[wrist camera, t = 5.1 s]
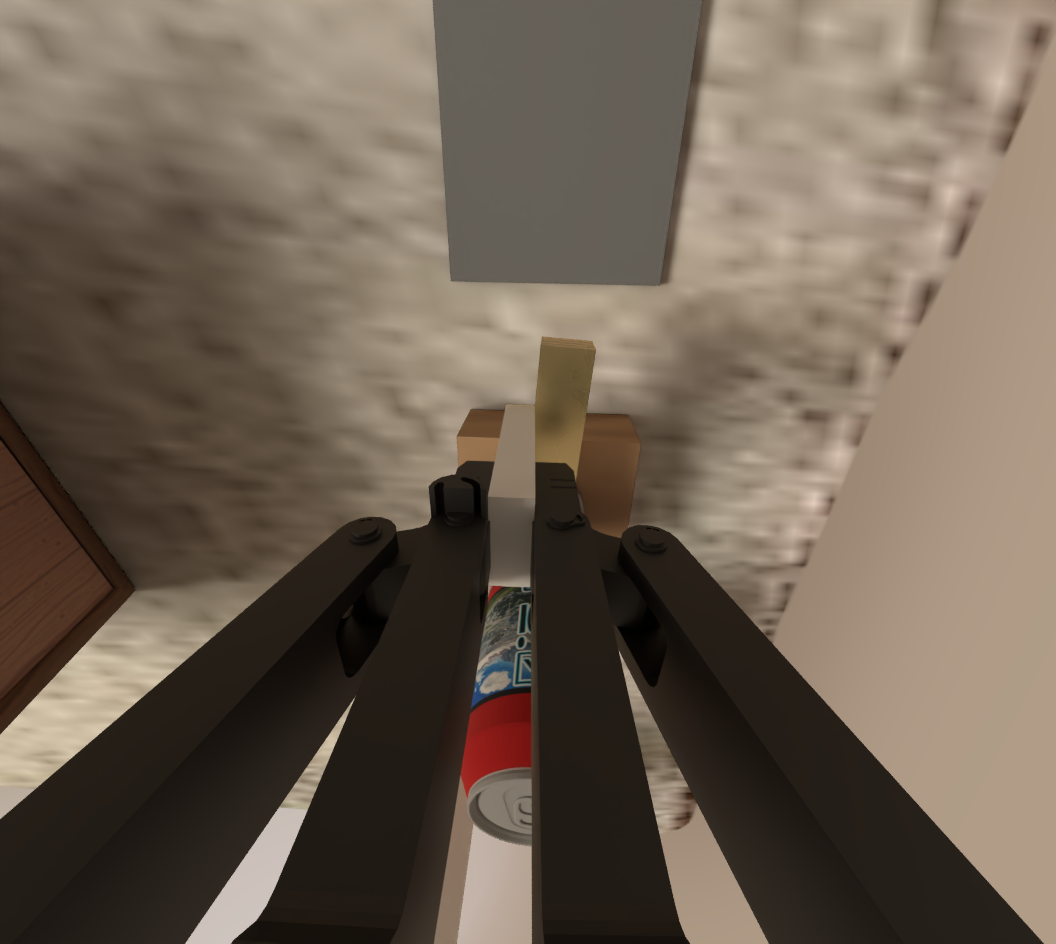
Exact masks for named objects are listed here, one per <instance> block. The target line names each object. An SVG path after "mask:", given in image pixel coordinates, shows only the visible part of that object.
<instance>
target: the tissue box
mask: <svg viewBox="0 0 1056 944" xmlns="http://www.w3.org/2000/svg"><path fill="white" fill-rule="evenodd" d="M134 591H135V589H134V587H133V586H132V584H131V583H130V581H129V580H128V578H127V577H126V576H125V574H124V573H123V571H122V570H121V569H120V567H119V566H118V565H117V563H116V562H115V560H114V559H113V558H112V556H111V555H110V553H109V552H108V551H107V549H106V548H105V547H104V545H103V544H102V542H101V541H100V540H99V538H98V537H97V536H96V534H95V533H94V531H93V530H92V529H91V527H90V526H89V524H88V523H87V522H86V520H85V519H84V518H83V516H82V515H81V513H80V512H79V511H78V509H77V508H76V507H75V505H74V504H73V502H72V501H71V500H70V498H69V497H68V495H67V494H66V493H65V491H64V490H63V489H62V487H61V486H60V484H59V483H58V482H57V480H56V479H55V478H54V476H53V475H52V473H51V472H50V471H49V469H48V468H47V466H46V465H45V464H44V462H43V461H42V460H41V458H40V457H39V455H38V454H37V453H36V451H35V450H34V449H33V447H32V446H31V444H30V443H29V442H28V440H27V439H26V437H25V436H24V435H23V433H22V432H21V431H20V429H19V428H18V426H17V425H16V424H15V422H14V421H13V420H12V418H11V417H10V415H9V414H8V413H7V411H6V410H5V408H4V407H3V406H2V404H1V403H0V734H1V733H2V732H3V731H4V730H5V729H6V728H7V727H8V726H9V725H10V723H11V722H12V721H13V720H14V719H15V718H16V717H17V716H18V715H19V714H20V713H21V712H22V711H23V710H24V709H25V708H26V706H27V705H28V704H29V703H30V702H31V701H32V700H33V699H34V698H35V697H36V696H37V695H38V694H39V693H40V692H41V691H42V689H43V688H44V687H45V686H46V685H47V684H48V683H49V682H50V681H51V680H52V679H53V678H54V677H55V676H56V675H57V674H58V672H59V671H60V670H61V669H62V668H63V667H64V666H65V665H66V664H67V663H68V662H69V661H70V660H71V659H72V658H73V657H74V655H75V654H76V653H77V652H78V651H79V650H80V649H81V648H82V647H83V646H84V645H85V644H86V643H87V642H88V641H89V639H90V638H91V637H92V636H93V635H94V634H95V633H96V632H97V631H98V630H99V629H100V628H101V627H102V626H103V625H104V624H105V622H106V621H107V620H108V619H109V618H110V617H111V616H112V615H113V614H114V613H115V612H116V611H117V610H118V609H119V608H120V607H121V605H122V604H123V603H124V602H125V601H126V600H127V599H128V598H129V597H130V596H131V594H132V593H133V592H134Z"/></svg>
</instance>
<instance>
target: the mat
mask: <svg viewBox="0 0 1056 944" xmlns="http://www.w3.org/2000/svg"><path fill="white" fill-rule="evenodd" d="M701 6H702V0H433V12H434V27H435V43H436V58H437V74H438V89H439V104H440V120H441V135H442V151H443V166H444V182H445V197H446V213H447V228H448V243H449V259H450V274H451V281H465V282H512V283H560V284H607V285H654V286H660V280H661V273H662V266H663V260H664V253H665V246H666V240H667V233H668V226H669V220H670V213H671V206H672V200H673V193H674V186H675V180H676V173H677V166H678V160H679V153H680V146H681V140H682V133H683V126H684V120H685V113H686V106H687V100H688V93H689V86H690V80H691V73H692V66H693V60H694V53H695V46H696V40H697V33H698V26H699V20H700V13H701Z"/></svg>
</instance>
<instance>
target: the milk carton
mask: <svg viewBox="0 0 1056 944" xmlns="http://www.w3.org/2000/svg"><path fill="white" fill-rule="evenodd" d="M467 801H468V799H467V796H466V793H465V789H464V786H463V782H462V779H461V775H460V782H459V788H458V794H457V800H456V807H455V813H454V819H453V826H452V832H451V838H450V845H449V851H448V857H447V864H446V870H445V876H444V882H443V889H442V895H441V901H440V908H439V914H438V920H437V927H436V933H435V939H434V944H457V938H458V930H459V923H460V916H461V909H462V902H463V894H464V887H465V880H466V872H467V865H468V859H469V852H470V844H471V837H472V830H473V822H472V821H471V820H470V818H469V816H468V813H467Z"/></svg>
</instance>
